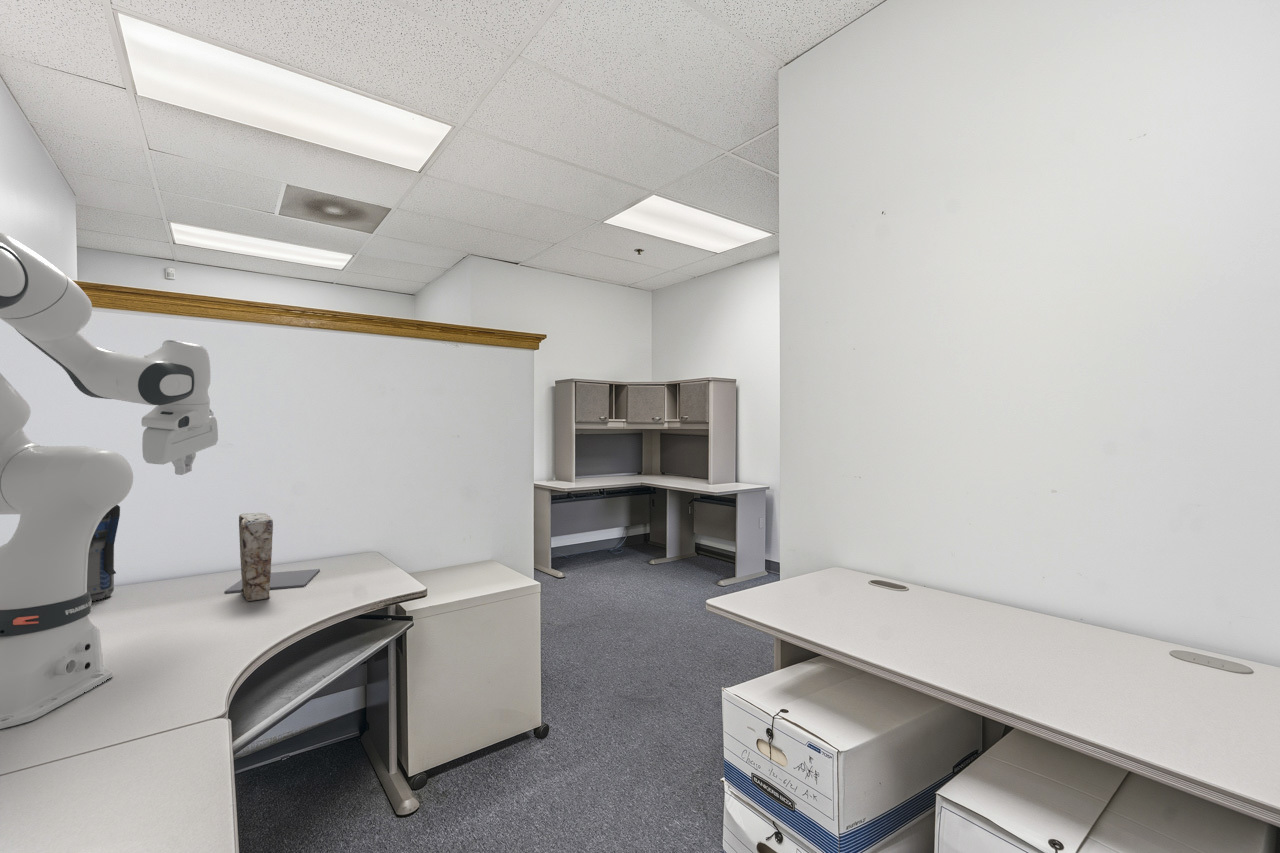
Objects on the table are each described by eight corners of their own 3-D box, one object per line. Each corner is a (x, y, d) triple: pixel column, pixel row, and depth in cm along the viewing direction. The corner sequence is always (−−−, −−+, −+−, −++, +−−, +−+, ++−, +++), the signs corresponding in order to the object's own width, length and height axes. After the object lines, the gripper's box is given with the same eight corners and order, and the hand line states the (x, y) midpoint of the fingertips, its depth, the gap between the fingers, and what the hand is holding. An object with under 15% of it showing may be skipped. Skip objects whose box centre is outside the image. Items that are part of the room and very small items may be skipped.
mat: (304, 586, 146) (304, 584, 146) (224, 593, 140) (224, 591, 140) (319, 570, 163) (319, 568, 163) (248, 576, 157) (248, 574, 157)
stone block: (278, 596, 137) (277, 517, 136) (244, 604, 132) (243, 521, 131) (264, 584, 146) (263, 510, 145) (232, 590, 141) (231, 513, 140)
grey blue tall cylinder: (97, 605, 131) (98, 501, 131) (39, 606, 130) (40, 502, 131) (134, 593, 141) (135, 496, 142) (80, 594, 141) (81, 497, 141)
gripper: (197, 404, 132) (196, 460, 134) (135, 420, 112) (134, 484, 114) (226, 408, 133) (225, 462, 135) (170, 423, 113) (169, 487, 115)
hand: (183, 473), depth 124 cm, fingers closed
